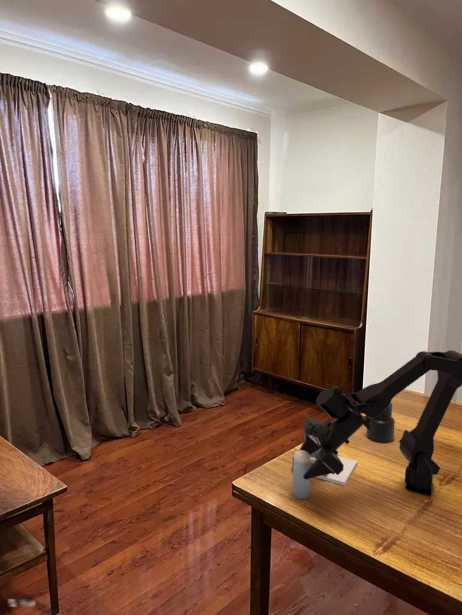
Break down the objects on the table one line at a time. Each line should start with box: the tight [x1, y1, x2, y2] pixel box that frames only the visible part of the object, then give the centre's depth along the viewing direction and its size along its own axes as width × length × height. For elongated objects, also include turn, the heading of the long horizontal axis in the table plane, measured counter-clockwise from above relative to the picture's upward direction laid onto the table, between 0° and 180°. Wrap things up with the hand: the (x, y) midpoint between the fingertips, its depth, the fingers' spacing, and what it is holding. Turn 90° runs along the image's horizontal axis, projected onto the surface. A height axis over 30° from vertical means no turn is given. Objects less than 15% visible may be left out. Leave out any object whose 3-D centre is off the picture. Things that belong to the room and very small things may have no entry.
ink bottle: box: [365, 402, 396, 443], centre depth 149 cm, size 10×9×12 cm
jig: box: [292, 449, 358, 487], centre depth 131 cm, size 16×13×4 cm
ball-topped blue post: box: [292, 449, 311, 500], centre depth 118 cm, size 4×4×12 cm
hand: (300, 468), depth 117 cm, fingers open, 9 cm apart
